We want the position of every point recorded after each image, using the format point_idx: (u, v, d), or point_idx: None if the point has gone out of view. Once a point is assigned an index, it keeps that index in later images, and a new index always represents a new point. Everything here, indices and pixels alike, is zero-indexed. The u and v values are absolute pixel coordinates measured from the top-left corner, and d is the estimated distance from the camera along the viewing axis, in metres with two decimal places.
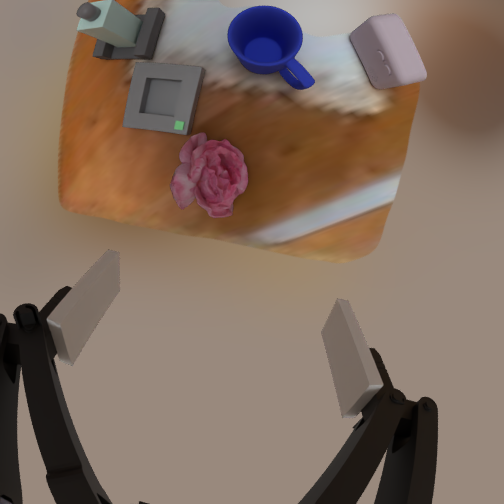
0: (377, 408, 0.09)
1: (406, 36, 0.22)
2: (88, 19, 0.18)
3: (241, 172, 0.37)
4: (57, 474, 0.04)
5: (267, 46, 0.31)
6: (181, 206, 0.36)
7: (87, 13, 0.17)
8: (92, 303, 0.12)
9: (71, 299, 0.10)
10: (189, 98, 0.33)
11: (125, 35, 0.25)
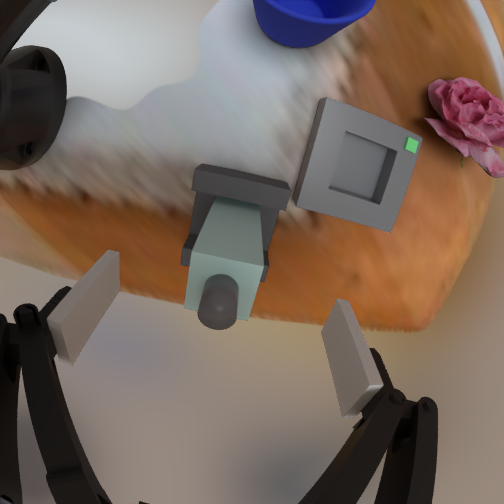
0: (377, 408, 0.09)
1: None
2: None
3: (467, 85, 0.17)
4: (57, 474, 0.04)
5: None
6: None
7: (232, 305, 0.14)
8: (92, 303, 0.12)
9: (71, 299, 0.10)
10: (375, 123, 0.21)
11: (255, 223, 0.21)
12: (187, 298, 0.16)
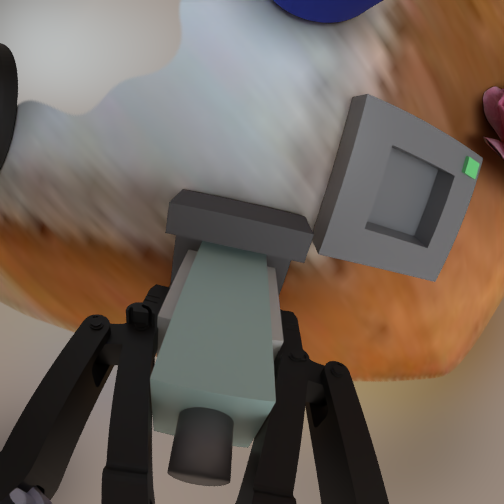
0: (279, 372, 0.10)
1: None
2: (231, 444, 0.08)
3: None
4: (117, 471, 0.05)
5: None
6: None
7: (221, 472, 0.06)
8: None
9: (175, 296, 0.13)
10: (431, 135, 0.13)
11: (260, 290, 0.14)
12: (156, 423, 0.09)
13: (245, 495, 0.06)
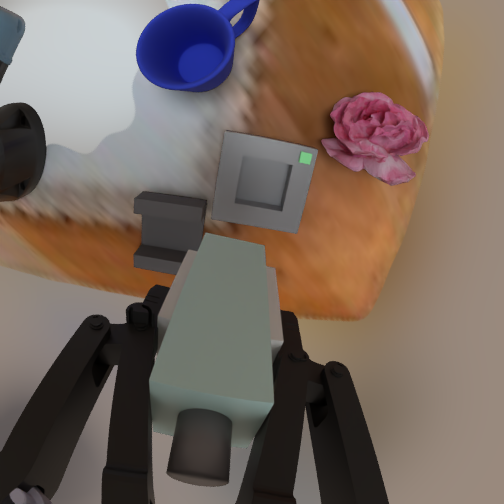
0: (279, 372, 0.10)
1: None
2: (230, 445, 0.08)
3: (369, 99, 0.25)
4: (117, 471, 0.05)
5: (191, 60, 0.25)
6: (412, 174, 0.25)
7: (220, 473, 0.06)
8: None
9: (175, 296, 0.13)
10: (269, 145, 0.28)
11: (259, 291, 0.14)
12: (155, 424, 0.09)
13: (245, 495, 0.06)
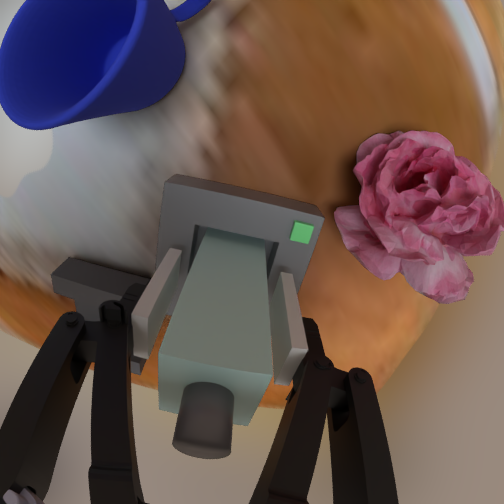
0: (303, 378, 0.10)
1: None
2: (232, 418, 0.09)
3: (421, 143, 0.14)
4: (102, 470, 0.05)
5: None
6: (470, 277, 0.14)
7: (223, 442, 0.07)
8: (164, 298, 0.14)
9: (151, 294, 0.12)
10: (239, 208, 0.17)
11: (259, 278, 0.15)
12: (161, 401, 0.10)
13: (259, 497, 0.06)
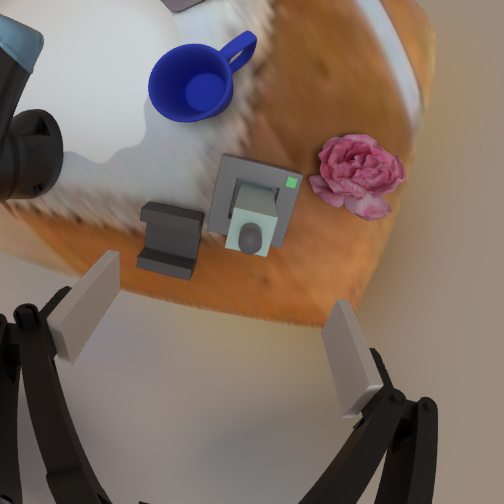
0: (377, 408, 0.09)
1: None
2: None
3: (355, 140, 0.30)
4: (57, 474, 0.04)
5: (197, 88, 0.30)
6: (388, 210, 0.30)
7: (259, 236, 0.23)
8: (92, 303, 0.12)
9: (71, 299, 0.10)
10: (260, 169, 0.33)
11: (270, 198, 0.31)
12: (228, 240, 0.26)
13: None
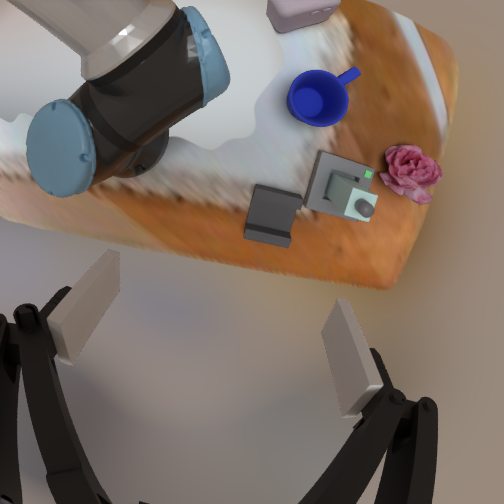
0: (377, 408, 0.09)
1: None
2: None
3: (409, 149, 0.41)
4: (57, 474, 0.04)
5: (300, 98, 0.40)
6: (431, 197, 0.41)
7: (372, 206, 0.34)
8: (92, 303, 0.12)
9: (71, 299, 0.10)
10: (347, 163, 0.43)
11: (359, 184, 0.41)
12: (346, 209, 0.36)
13: None
